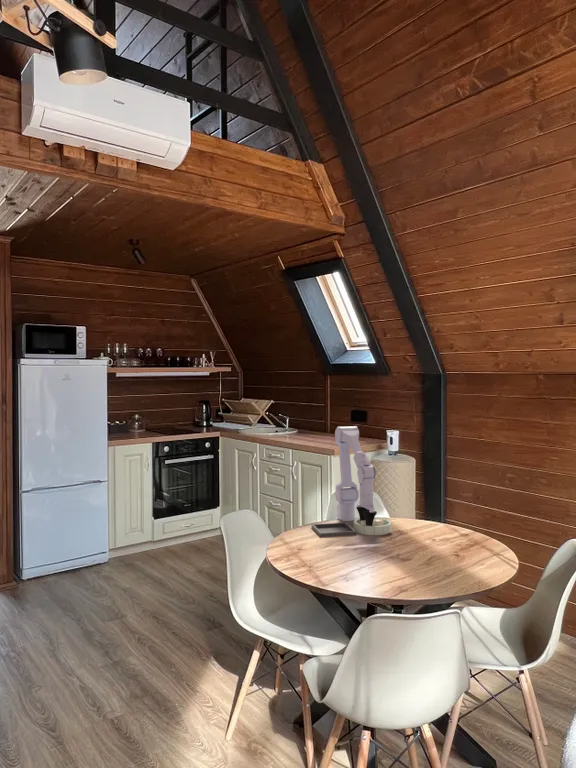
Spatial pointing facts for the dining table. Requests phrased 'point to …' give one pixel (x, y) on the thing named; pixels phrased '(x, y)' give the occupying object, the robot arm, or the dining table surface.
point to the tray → (333, 529)
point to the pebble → (378, 522)
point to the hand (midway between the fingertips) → (366, 525)
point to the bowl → (372, 528)
